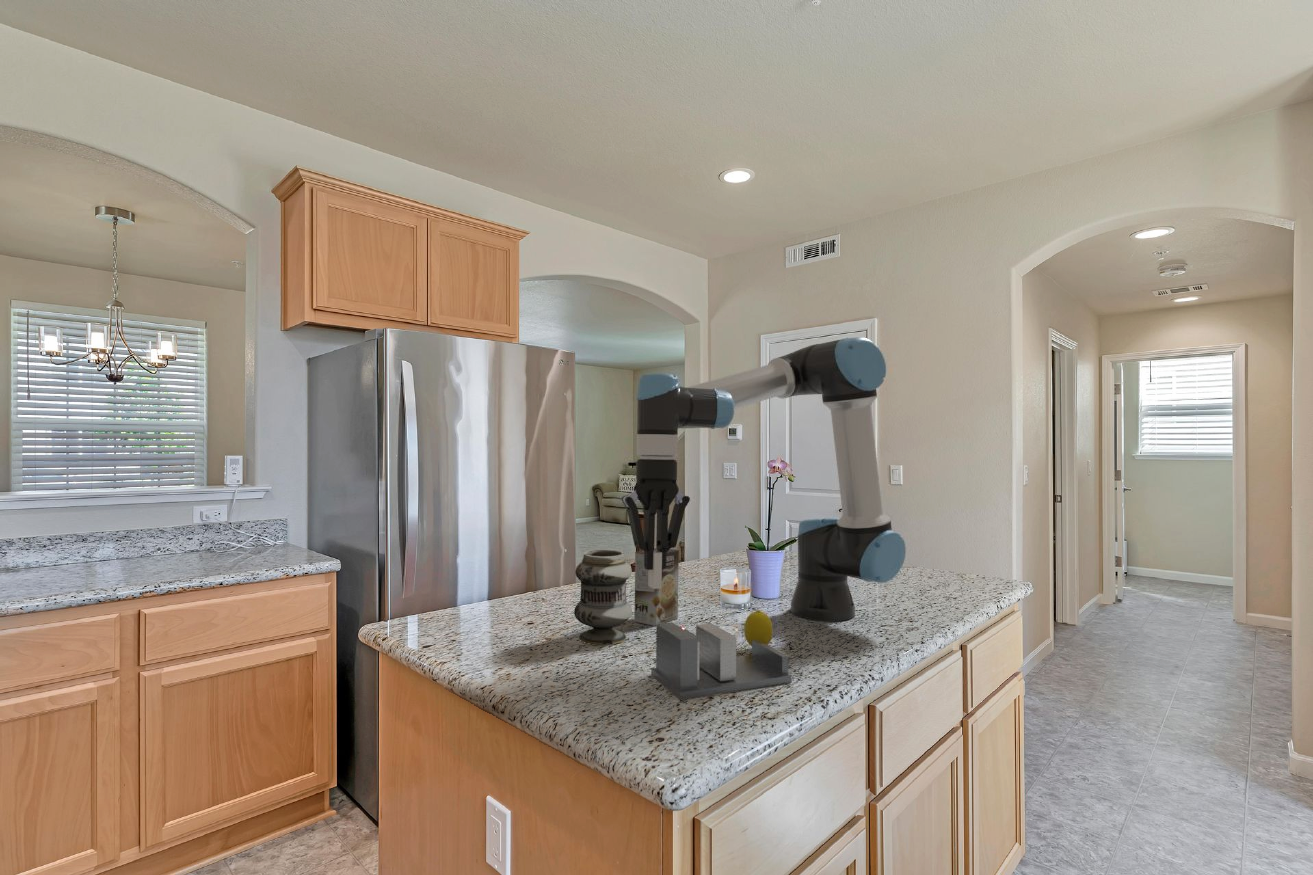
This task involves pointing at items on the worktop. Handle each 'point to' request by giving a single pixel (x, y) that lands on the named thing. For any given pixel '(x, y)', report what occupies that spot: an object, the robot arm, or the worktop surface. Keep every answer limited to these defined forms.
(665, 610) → the coffee box
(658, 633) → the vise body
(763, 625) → the lemon
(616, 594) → the apothecary jar
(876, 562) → the robot arm
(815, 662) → the worktop surface
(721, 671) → the free jaw
